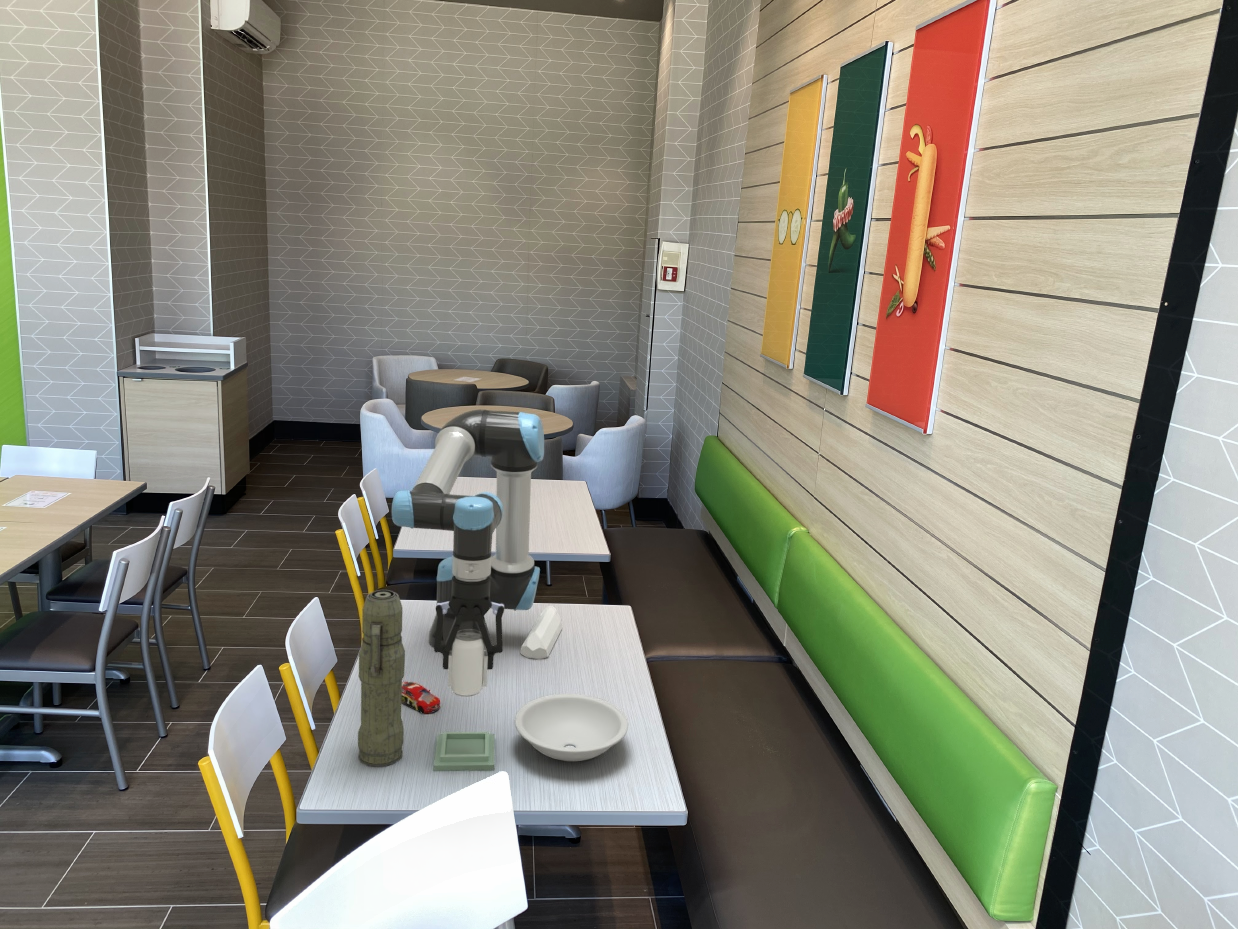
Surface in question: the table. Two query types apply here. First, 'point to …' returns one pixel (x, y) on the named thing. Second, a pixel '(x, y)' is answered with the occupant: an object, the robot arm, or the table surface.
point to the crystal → (542, 634)
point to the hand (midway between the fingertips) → (467, 683)
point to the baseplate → (464, 751)
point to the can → (467, 663)
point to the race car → (419, 698)
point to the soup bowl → (571, 725)
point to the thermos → (381, 680)
